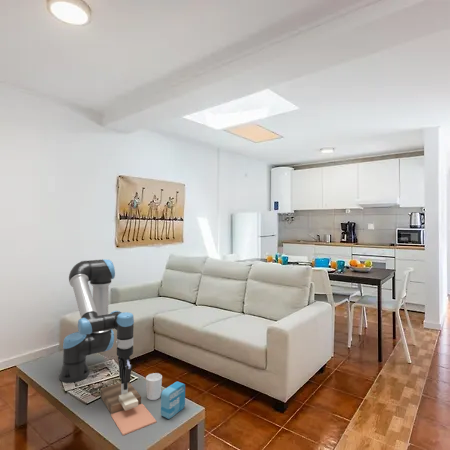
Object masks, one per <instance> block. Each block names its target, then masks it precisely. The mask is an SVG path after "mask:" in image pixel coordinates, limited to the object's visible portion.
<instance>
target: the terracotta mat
mask: <svg viewBox="0 0 450 450" xmlns="http://www.w3.org/2000/svg"><path fill="white" fill-rule="evenodd" d="M110 417H111V418H112V420H113V422H114V423H115V425H116V426H117V428H118V430H119V431H120V433H121V435H122V436H125V435H128V434H131V433H133V432H137V431H138V430H141V429H143V428H146V427H149V426H152V425H153V424H156V423H157V419H156V418H155V417H154V416H153V414H152V413H151V412H150V411H149V410H148V408H146V406H145V405H144V403H141V404H139V405H138V407H135V408H132V409H129V410H126V411H125V410H122V411H120V412H117V413H114V414H111V413H110Z"/></svg>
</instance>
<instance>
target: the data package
mask: <svg viewBox="0 0 450 450" xmlns="http://www.w3.org/2000/svg"><path fill="white" fill-rule="evenodd" d="M185 405H186V384H185V383H183V382H180V381H175V382H174V383H172V384H170V385H169V386H167V387H166V388H164V389H162V390H161V396H160V415H161V416H162V417H163V418H165V419H168V420H169V419H171V418H173V417H174V416H175V415H177V414H178V413H179V412H181V411H182V410H183V409H184V408H185V407H186V406H185Z"/></svg>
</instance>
